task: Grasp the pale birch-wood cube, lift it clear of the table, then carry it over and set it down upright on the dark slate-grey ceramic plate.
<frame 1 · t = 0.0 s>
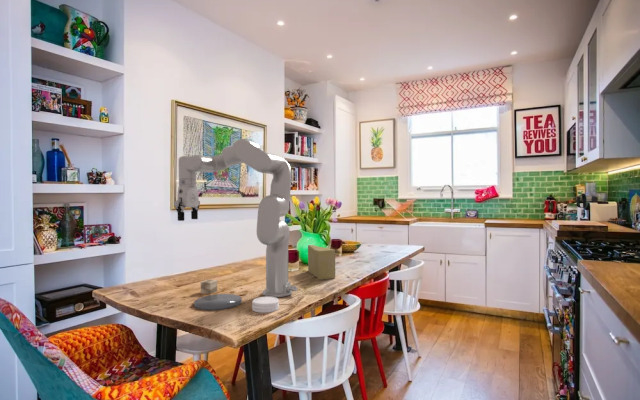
hand: (187, 219, 169), 31 cm above the table, tool pointing down, fingers open, 9 cm apart
coaster: (265, 309, 135), on the table
cake plate: (218, 303, 143), on the table
cheese: (317, 275, 191), on the table
wooden cube: (209, 292, 159), on the table
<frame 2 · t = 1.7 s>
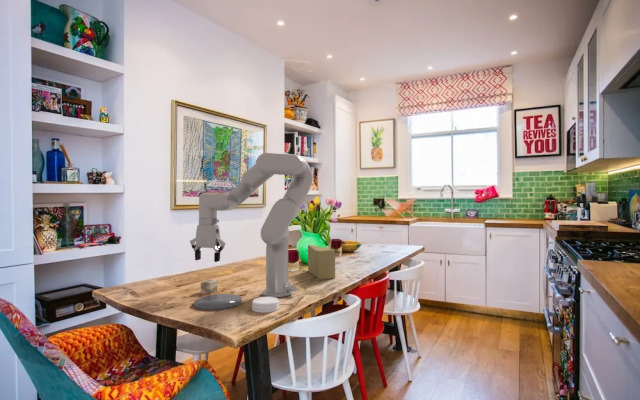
hand: (207, 260, 159), 14 cm above the table, tool pointing down, fingers open, 9 cm apart
nothing on the table moved.
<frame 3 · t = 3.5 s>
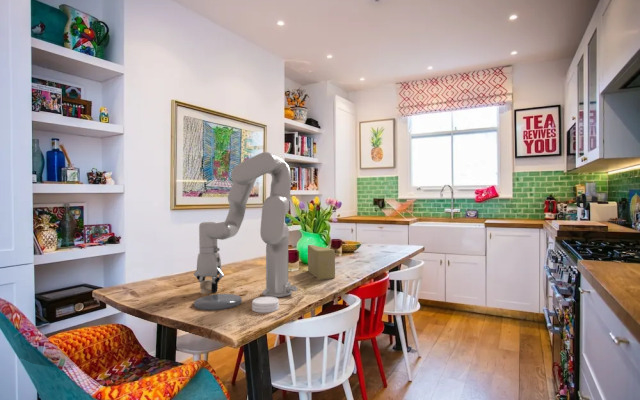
hand: (209, 291, 159), 0 cm above the table, tool pointing down, fingers closed on wooden cube, 5 cm apart
wooden cube: (209, 292, 159), on the table, touching gripper
everything else where it was.
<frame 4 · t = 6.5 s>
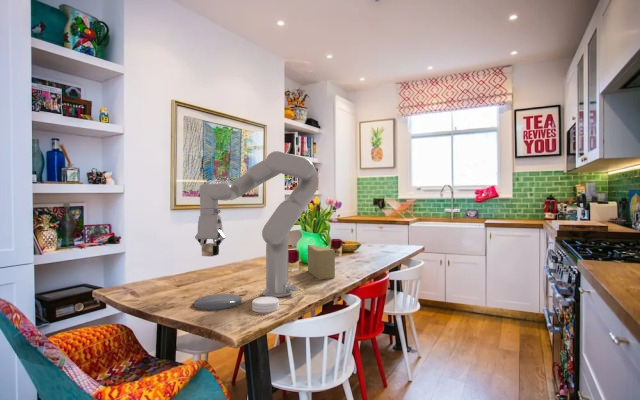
hand: (210, 254, 156), 17 cm above the table, tool pointing down, fingers closed on wooden cube, 4 cm apart
wooden cube: (210, 255, 156), point 17 cm above the table, touching gripper
everything else where it was.
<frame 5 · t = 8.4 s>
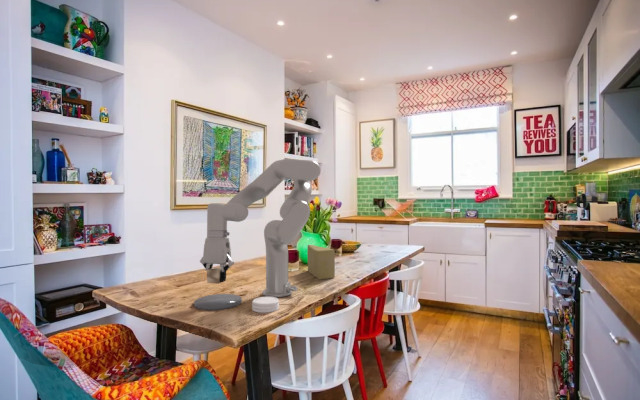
hand: (216, 280, 142), 9 cm above the table, tool pointing down, fingers closed on wooden cube, 4 cm apart
wooden cube: (216, 281, 142), point 9 cm above the table, touching gripper
everything else where it was.
when the fingers open (3 cm above the table, at t = 9.9 s): wooden cube drops 1 cm, resting on cake plate.
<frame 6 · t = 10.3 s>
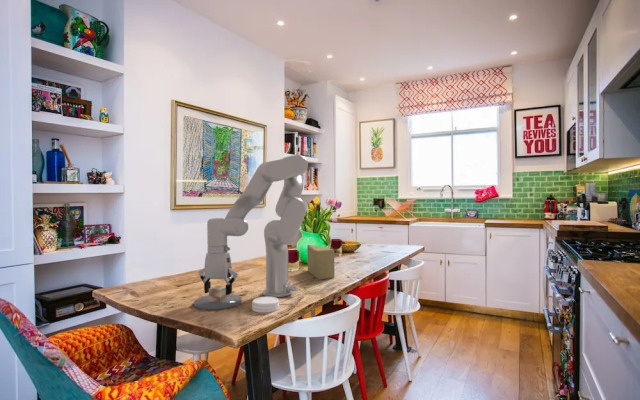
hand: (218, 293, 143), 4 cm above the table, tool pointing down, fingers open, 9 cm apart
wooden cube: (218, 300, 143), point 1 cm above the table, touching cake plate
everything else where it was.
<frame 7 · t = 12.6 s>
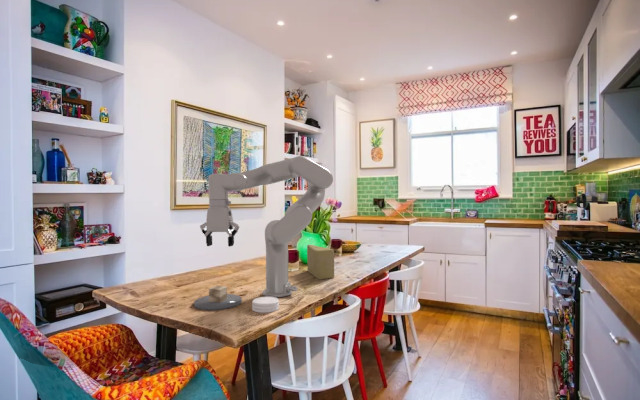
hand: (220, 245, 148), 22 cm above the table, tool pointing down, fingers open, 9 cm apart
nothing on the table moved.
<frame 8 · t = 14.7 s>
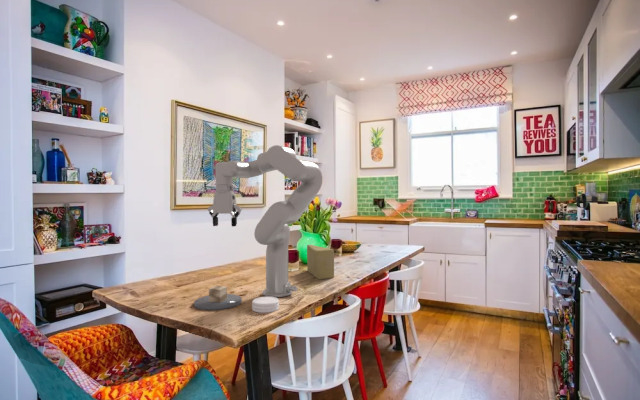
hand: (224, 226, 167), 28 cm above the table, tool pointing down, fingers open, 9 cm apart
at the end: wooden cube inside the target area on the cake plate (0.1 cm from its centre), point 1.2 cm above the cake plate's base; wooden cube tilted 0°; the gripper is holding nothing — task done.
